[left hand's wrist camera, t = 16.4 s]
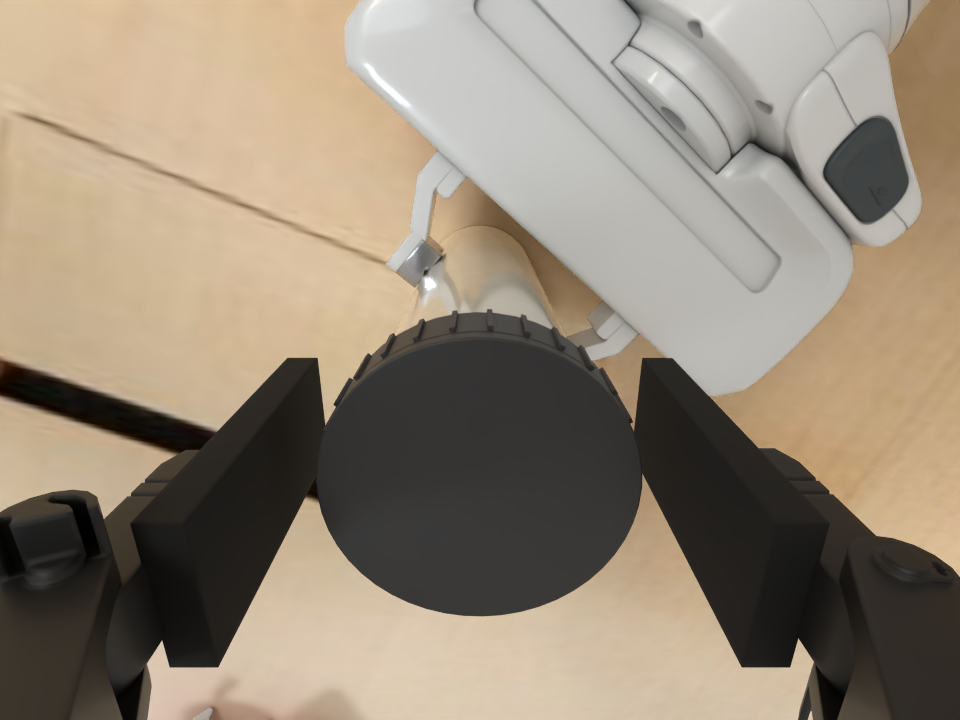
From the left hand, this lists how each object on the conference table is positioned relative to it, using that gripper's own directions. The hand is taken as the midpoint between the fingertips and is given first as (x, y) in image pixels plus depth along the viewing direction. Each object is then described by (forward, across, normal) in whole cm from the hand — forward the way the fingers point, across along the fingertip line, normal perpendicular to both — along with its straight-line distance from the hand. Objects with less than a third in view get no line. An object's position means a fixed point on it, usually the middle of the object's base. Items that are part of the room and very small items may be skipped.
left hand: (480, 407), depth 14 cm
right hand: (+9, -1, -1) cm, 9 cm away
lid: (-3, 0, 0) cm, 3 cm away
